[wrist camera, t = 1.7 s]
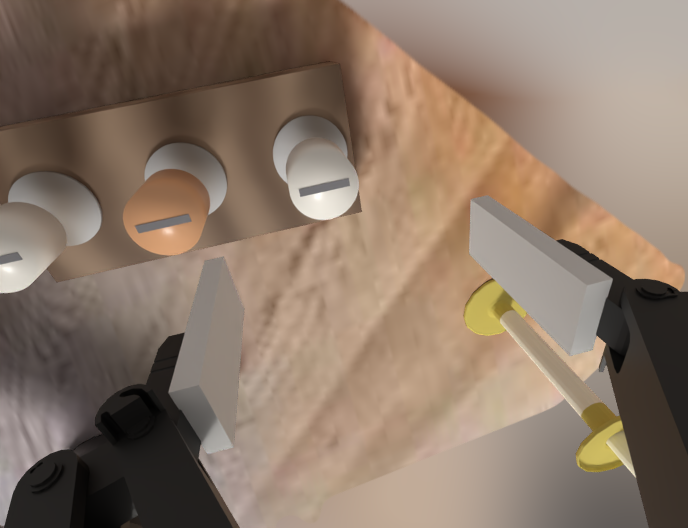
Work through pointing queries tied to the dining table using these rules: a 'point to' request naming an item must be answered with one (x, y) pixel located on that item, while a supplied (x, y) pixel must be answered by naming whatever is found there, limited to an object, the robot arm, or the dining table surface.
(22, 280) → the knob
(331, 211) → the knob
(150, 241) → the knob middle
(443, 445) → the dining table surface
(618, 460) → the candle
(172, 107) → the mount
